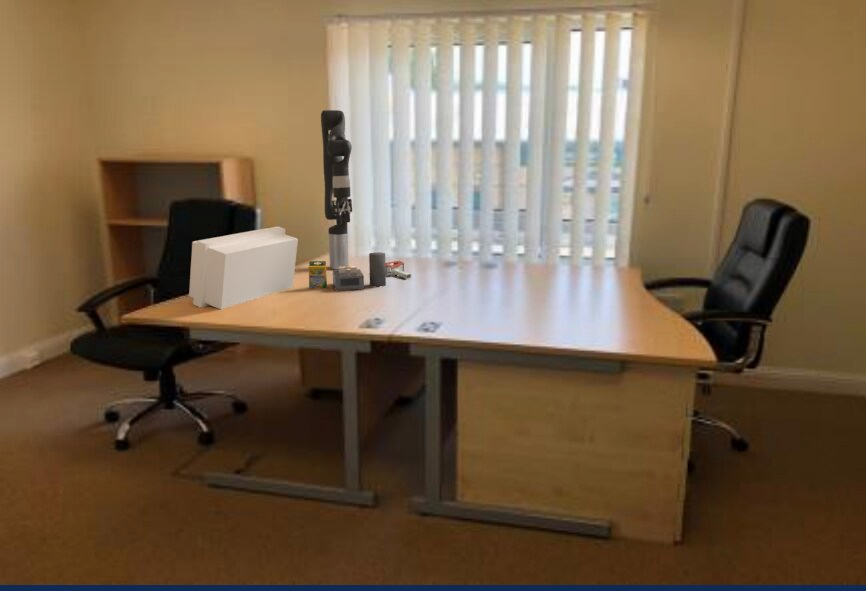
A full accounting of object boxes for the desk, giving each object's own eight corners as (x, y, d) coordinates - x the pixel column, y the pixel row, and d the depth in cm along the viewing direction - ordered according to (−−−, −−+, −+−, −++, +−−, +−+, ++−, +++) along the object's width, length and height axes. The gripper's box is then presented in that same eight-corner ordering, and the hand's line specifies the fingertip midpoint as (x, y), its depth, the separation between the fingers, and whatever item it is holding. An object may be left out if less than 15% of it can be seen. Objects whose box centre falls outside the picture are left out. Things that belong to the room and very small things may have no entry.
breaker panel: (333, 283, 305) (332, 270, 303) (360, 282, 307) (359, 269, 306) (335, 290, 291) (335, 277, 290) (364, 289, 294) (363, 275, 292)
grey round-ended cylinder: (368, 283, 305) (368, 252, 301) (384, 282, 306) (383, 252, 303) (371, 287, 298) (370, 255, 295) (386, 286, 300) (386, 254, 296)
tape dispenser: (410, 283, 313) (415, 272, 332) (410, 272, 312) (415, 261, 331) (372, 281, 315) (379, 269, 334) (372, 270, 313) (379, 259, 332)
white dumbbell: (338, 272, 297) (338, 266, 296) (356, 271, 299) (356, 265, 298) (339, 273, 296) (339, 268, 295) (356, 272, 298) (356, 267, 297)
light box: (264, 279, 306) (270, 223, 298) (294, 290, 299) (301, 234, 291) (185, 301, 268) (189, 237, 259) (217, 314, 261) (222, 250, 252)
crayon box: (309, 289, 295) (308, 262, 292) (310, 287, 298) (308, 261, 295) (326, 288, 295) (325, 262, 292) (327, 287, 298) (325, 260, 295)
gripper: (341, 185, 309) (343, 221, 312) (326, 187, 296) (328, 224, 299) (356, 185, 307) (358, 221, 310) (341, 187, 294) (343, 225, 297)
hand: (343, 223), depth 305 cm, fingers open, 8 cm apart
